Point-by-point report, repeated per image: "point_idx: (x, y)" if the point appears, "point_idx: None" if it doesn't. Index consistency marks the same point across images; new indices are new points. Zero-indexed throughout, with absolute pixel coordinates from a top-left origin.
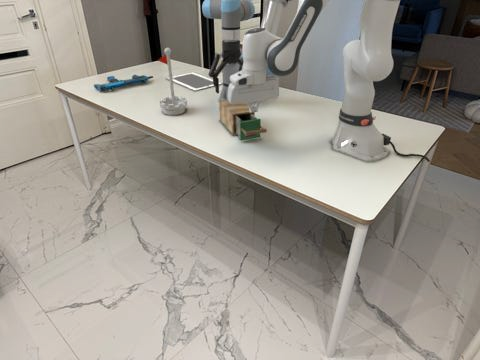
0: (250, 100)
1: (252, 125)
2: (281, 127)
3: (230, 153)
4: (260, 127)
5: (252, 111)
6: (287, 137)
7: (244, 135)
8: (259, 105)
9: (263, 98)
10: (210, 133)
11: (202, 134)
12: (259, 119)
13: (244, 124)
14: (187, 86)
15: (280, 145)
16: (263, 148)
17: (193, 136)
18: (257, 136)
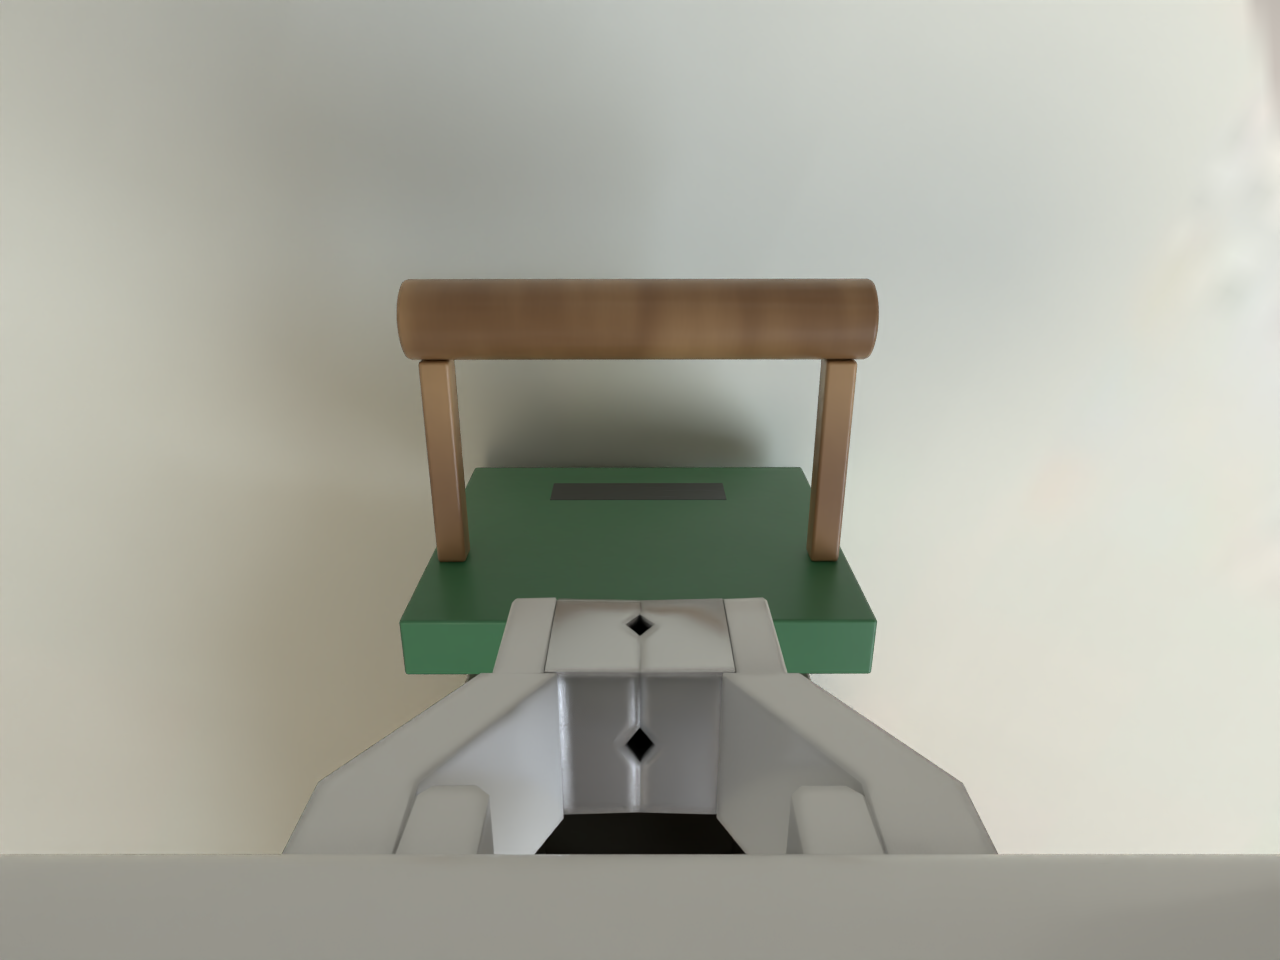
0: (1042, 936)
1: (598, 570)
2: (58, 674)
3: (1090, 192)
4: (462, 483)
5: (713, 610)
6: (49, 362)
7: (745, 496)
8: (405, 724)
9: (18, 948)
10: (1027, 817)
11: (1128, 824)
12: (425, 631)
13: (776, 592)
14: None
15: (240, 144)
16: (544, 152)
17: (1252, 813)
18: (519, 474)
